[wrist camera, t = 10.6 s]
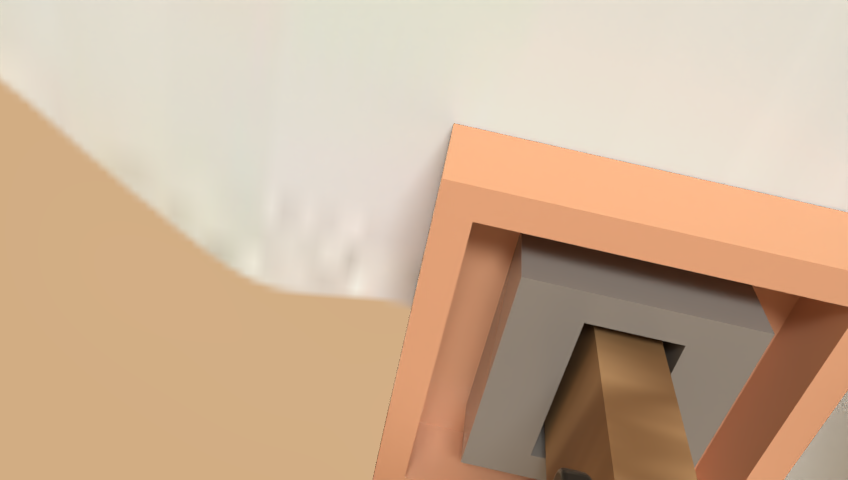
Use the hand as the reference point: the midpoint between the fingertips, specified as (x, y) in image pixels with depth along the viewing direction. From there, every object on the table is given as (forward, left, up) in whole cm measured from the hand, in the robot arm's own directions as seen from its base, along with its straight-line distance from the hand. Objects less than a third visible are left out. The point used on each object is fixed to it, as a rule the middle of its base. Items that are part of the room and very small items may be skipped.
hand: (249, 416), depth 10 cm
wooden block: (-8, +6, -11) cm, 15 cm away
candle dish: (-8, +6, -12) cm, 16 cm away
